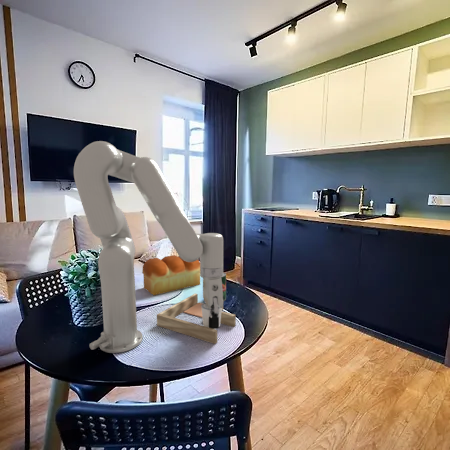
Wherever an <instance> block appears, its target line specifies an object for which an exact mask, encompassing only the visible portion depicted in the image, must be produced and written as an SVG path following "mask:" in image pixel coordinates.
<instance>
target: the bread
mask: <svg viewBox="0 0 450 450" xmlns="http://www.w3.org/2000/svg"><path fill="white" fill-rule="evenodd" d="M142 274H143V288H144V289H145V290H146V289H147V290H148V291H147V290H146V291H147V292H149V293H150V294H151V295H152V294H153V295H152V296H157V295H161V294H165V293H169V292H175V291H178V290H183V289H187V288H190V287H195V286H200V285H201V276H200V259H198V260H196V261H194V262H186V261H184V260H182V259H181V258H180V257H179V255H169V256H164V257H162V258H158V257H154V258H148V259H147V260H146V261H145V262H144V263H143V264H142Z"/></svg>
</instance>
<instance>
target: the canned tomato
mask: <svg viewBox="0 0 450 450" xmlns="http://www.w3.org/2000/svg"><path fill="white" fill-rule="evenodd" d="M221 280H222V290H223V302H225V301H226V300H227V273H226V272H224V271H223V277H221Z"/></svg>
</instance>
